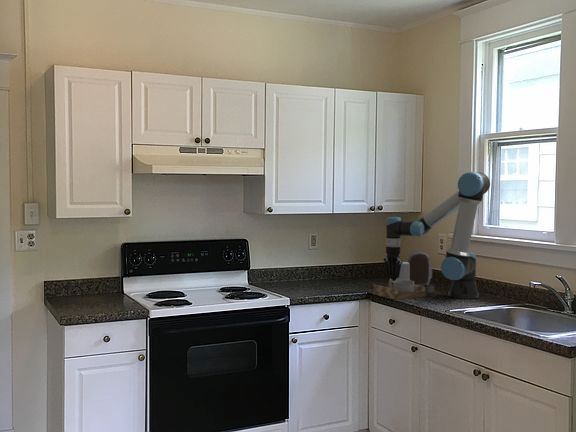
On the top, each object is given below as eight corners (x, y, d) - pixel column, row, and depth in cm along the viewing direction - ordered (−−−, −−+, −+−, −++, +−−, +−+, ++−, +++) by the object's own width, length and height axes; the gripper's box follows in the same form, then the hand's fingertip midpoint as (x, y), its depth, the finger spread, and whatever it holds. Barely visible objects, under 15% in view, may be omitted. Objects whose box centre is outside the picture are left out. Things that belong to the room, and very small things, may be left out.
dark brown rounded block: (405, 286, 359) (406, 251, 358) (406, 283, 367) (406, 249, 366) (432, 287, 355) (433, 251, 355) (432, 284, 364) (432, 250, 363)
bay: (440, 296, 325) (440, 279, 325) (399, 300, 311) (399, 282, 311) (412, 290, 343) (413, 274, 343) (373, 294, 329) (373, 277, 329)
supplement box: (408, 288, 350) (408, 261, 350) (409, 290, 341) (410, 263, 341) (391, 288, 351) (392, 261, 351) (392, 290, 342) (393, 263, 342)
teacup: (418, 296, 323) (418, 281, 322) (405, 299, 315) (405, 283, 315) (396, 293, 333) (396, 278, 332) (383, 295, 325) (383, 280, 325)
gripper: (379, 245, 333) (379, 289, 334) (395, 247, 322) (394, 293, 323) (390, 244, 337) (390, 288, 338) (406, 247, 326) (406, 292, 327)
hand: (392, 290), depth 331 cm, fingers closed
